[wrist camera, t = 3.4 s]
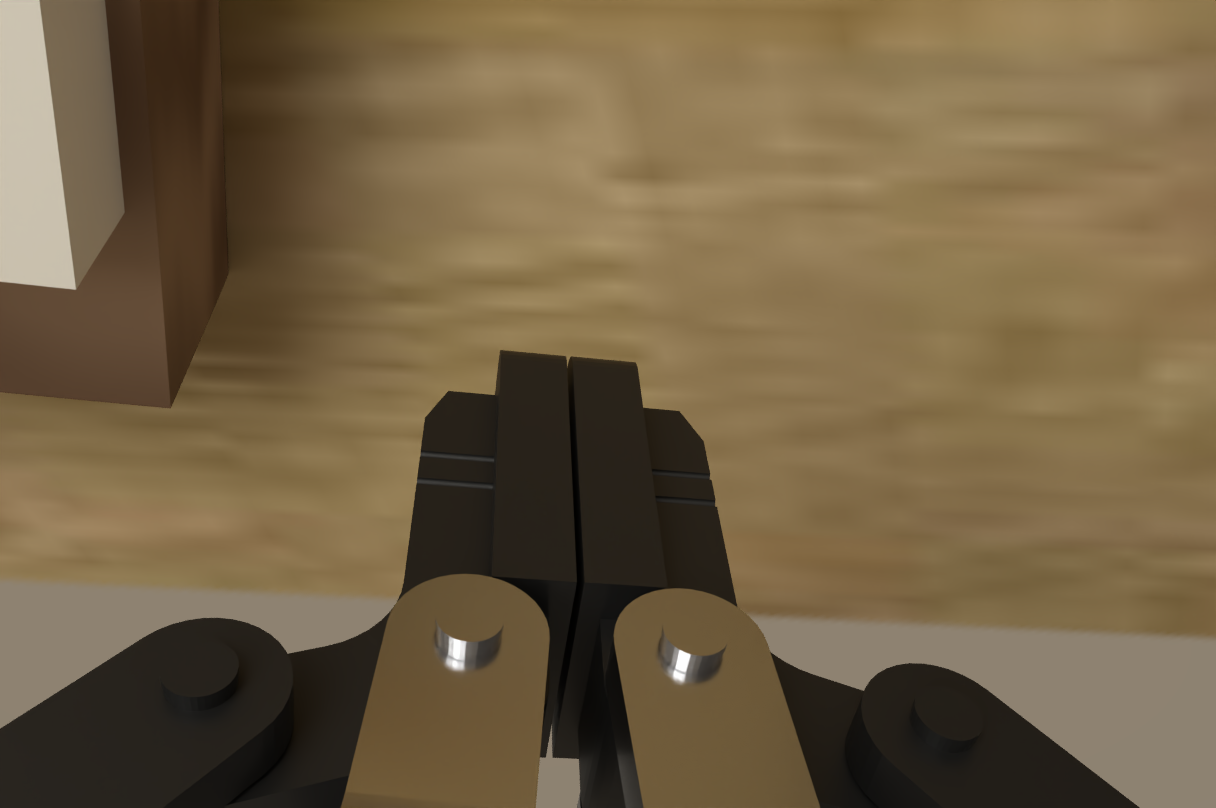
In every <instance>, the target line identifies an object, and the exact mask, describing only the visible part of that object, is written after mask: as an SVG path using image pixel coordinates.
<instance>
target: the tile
mask: <svg viewBox="0 0 1216 808" xmlns="http://www.w3.org/2000/svg"><path fill="white" fill-rule="evenodd" d="M124 213H125V210H124V200H123V189H122V178H121V167H120V157H119V146H118V135H117V125H116V114H115V103H114V93H113V82H112V71H111V61H110V50H109V39H108V28H107V18H106V7H105V0H0V282H9V283H18V284H27V285H37V286H46V287H55V288H64V289H74V290H76V289H77V287H78V286H79V284H80V283H81V281H82V279H83V278H84V276H85V275H86V273H87V272H88V270H89V268H90V267H91V265H92V264H93V262H94V260H95V259H96V257H97V256H98V254H99V253H100V251H101V249H102V248H103V246H104V245H105V243H106V241H107V240H108V238H109V237H110V235H111V233H112V232H113V230H114V229H115V227H116V226H117V224H118V222H119V221H120V219H121V218H122V216H123V214H124Z"/></svg>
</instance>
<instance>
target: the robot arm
mask: <svg viewBox="0 0 1216 808" xmlns="http://www.w3.org/2000/svg"><path fill="white" fill-rule="evenodd" d="M551 725H552V751H553V752H552V753H553V758H574V759H575V758H576V759H579V769H580V795H579V800H578V805H577V808H1139V807H1138V806H1137V805H1135V804H1134V803H1133V802H1132V801H1130V800H1129V799H1128V798H1126V797H1125V796H1124V795H1122V794H1121V793H1120V792H1119V791H1117V790H1116V789H1115V788H1113V787H1112V786H1111V785H1109V784H1108V783H1107V782H1106V781H1104V780H1103V779H1102V778H1100V777H1099V776H1098V775H1097V774H1095V773H1094V772H1093V771H1091V770H1090V769H1089V768H1087V767H1086V766H1085V765H1083V764H1082V763H1081V762H1080V761H1078V760H1077V759H1076V758H1075V757H1073V756H1072V755H1071V754H1069V753H1068V752H1067V751H1065V750H1064V749H1063V748H1062V747H1060V746H1059V745H1058V744H1056V743H1055V742H1054V741H1052V740H1051V739H1050V738H1049V737H1047V736H1046V735H1045V734H1043V733H1042V732H1041V731H1039V730H1038V729H1037V728H1036V727H1034V726H1033V725H1032V724H1031V723H1029V722H1028V721H1027V720H1025V719H1024V718H1022V717H1021V716H1020V715H1019V714H1017V713H1016V712H1015V711H1014V710H1012V709H1011V708H1009V707H1008V706H1007V705H1006V704H1005V703H1003V702H1002V701H1001V700H999V699H998V698H997V697H996V696H994V695H993V694H992V693H990V692H989V691H988V690H986V689H985V688H983V687H982V686H981V685H979V684H978V683H976V682H975V681H973V680H971V679H969V678H967V677H965V676H963V675H961V674H959V673H956V672H954V671H951V670H949V669H945V668H942V667H938V666H934V665H927V664H912V663H909V664H902V665H896V666H893V667H890V668H887V669H885V670H883V671H881V672H880V673H878V674H877V675H876V676H875V677H874V678H872V679H871V680H870V682H869V684H868V685H867V686H866V688H865V690H864V691H862V690H859V689H856V688H852V687H850V686H847V685H844V684H841V683H837V682H834V681H831V680H828V679H825V678H822V677H819V676H816V675H813V674H810V673H808V672H805V671H802V670H800V669H798V668H796V667H794V666H792V665H790V664H788V663H786V662H784V661H783V660H781V659H780V658H778V657H776V656H775V655H774V654H772V653H771V652H770V650H769V647H768V644H767V642H766V639H765V637H764V635H763V633H762V632H761V630H760V629H759V627H758V626H757V624H756V623H755V622H754V621H753V620H752V619H751V618H750V617H749V616H748V615H747V614H746V613H744V612H743V611H742V610H741V609H740V608H738V607H737V603H736V598H735V593H734V588H733V583H732V578H731V574H730V569H729V564H728V559H727V554H726V549H725V544H724V539H723V534H722V529H721V525H720V520H719V515H718V510H717V507H715V495H714V490H713V485H712V481H711V480H710V471H709V466H708V461H707V456H706V451H705V446H704V441H703V440H702V439H701V438H700V436H699V435H698V434H697V433H696V431H695V430H694V429H693V428H692V426H691V425H690V424H689V423H688V421H687V420H686V419H685V418H684V417H683V415H682V414H681V413H680V412H679V411H672V410H660V409H649V408H643V404H642V397H641V389H640V382H639V375H638V368H637V365H636V363H635V362H625V361H614V360H603V359H593V358H582V357H570V359H569V363H568V367H567V360H566V356H558V355H547V354H537V353H526V352H515V351H504V350H500V356H499V363H498V372H497V381H496V391H495V395H487V394H476V393H465V392H453V391H448V392H447V393H446V394H445V396H444V397H443V398H442V399H441V400H440V401H439V402H438V404H437V405H436V406H435V407H434V408H433V409H432V411H431V412H430V413H429V414H428V415H427V416H426V417H425V423H424V431H423V438H422V446H421V456H420V462H419V469H418V477H417V485H416V492H415V500H414V508H413V515H412V523H411V531H410V539H409V546H408V554H407V562H406V569H405V577H404V584H403V588H402V592H401V594H400V596H399V599H398V601H397V603H396V604H395V605H394V607H393V608H392V610H391V611H390V612H389V613H388V614H387V615H386V616H385V617H384V618H383V619H382V621H380V622H379V623H377V624H376V625H375V626H373V627H372V628H371V629H369V630H368V631H366V632H364V633H362V634H360V635H358V636H356V637H354V638H351V639H349V640H346V641H344V642H341V643H337V644H333V645H329V646H325V647H320V648H315V649H310V650H305V651H300V652H295V653H290V654H287V652H286V651H285V649H284V648H283V647H282V645H281V644H280V643H279V642H278V641H277V640H276V639H275V638H274V637H273V636H272V635H270V634H269V633H267V632H265V631H264V630H262V629H260V628H259V627H256V626H254V625H251V624H249V623H245V622H242V621H237V620H233V619H223V618H201V619H194V620H188V621H183V622H179V623H175V624H172V625H169V626H167V627H164V628H161V629H159V630H157V631H155V632H153V633H151V634H149V635H147V636H146V637H144V638H142V639H141V640H139V641H137V642H136V643H134V644H133V645H131V646H130V647H128V648H127V649H125V650H123V651H122V652H120V653H119V654H117V655H115V656H114V657H112V658H111V659H109V660H108V661H106V662H104V663H103V664H101V665H100V666H98V667H97V668H95V669H93V670H92V671H90V672H89V673H87V674H86V675H84V676H82V677H81V678H79V679H78V680H76V681H75V682H73V683H71V684H70V685H68V686H67V687H65V688H64V689H62V690H60V691H59V692H57V693H56V694H54V695H53V696H51V697H49V698H48V699H46V700H45V701H43V702H42V703H40V704H38V705H37V706H36V707H34V708H32V709H31V710H29V711H27V712H26V713H24V714H23V715H21V716H20V717H18V718H16V719H15V720H13V721H12V722H10V723H9V724H7V725H5V726H4V727H2V728H1V729H0V808H536V796H537V784H538V773H539V761H540V757H546V753H547V747H548V742H549V736H550V730H551Z"/></svg>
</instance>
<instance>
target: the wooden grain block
mask: <svg viewBox="0 0 1216 808" xmlns="http://www.w3.org/2000/svg"><path fill="white" fill-rule="evenodd" d="M105 7H106V18H107V28H108V39H109V50H110V61H111V71H112V82H113V93H114V103H115V114H116V125H117V135H118V146H119V157H120V167H121V178H122V189H123V200H124V210H125V213H124V214H123V216H122V218H121V219H120V221H119V222H118V224H117V226H116V227H115V229H114V230H113V232H112V233H111V235H110V237H109V238H108V240H107V241H106V243H105V245H104V246H103V248H102V249H101V251H100V253H99V254H98V256H97V257H96V259H95V260H94V262H93V264H92V265H91V267H90V268H89V270H88V272H87V273H86V275H85V276H84V278H83V279H82V281H81V283H80V284H79V286H78V287H77V289H76V290H74V289H64V288H55V287H46V286H37V285H27V284H18V283H9V282H0V392H5V393H15V394H26V395H36V396H47V397H57V398H68V399H78V400H89V401H99V402H110V403H120V404H131V405H141V406H152V407H162V408H171V406H172V404H173V402H174V399H175V397H176V395H177V393H178V390H179V388H180V386H181V383H182V381H183V379H184V376H185V374H186V372H187V369H188V367H189V365H190V362H191V360H192V358H193V355H194V353H195V351H196V348H197V346H198V344H199V341H200V339H201V337H202V334H203V332H204V330H205V327H206V325H207V323H208V320H209V318H210V316H211V314H212V311H213V309H214V307H215V304H216V302H217V300H218V297H219V295H220V293H221V290H222V288H223V286H224V283H225V281H226V279H227V276H228V247H227V220H226V192H225V165H224V137H223V109H222V82H221V54H220V27H219V0H105Z"/></svg>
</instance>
